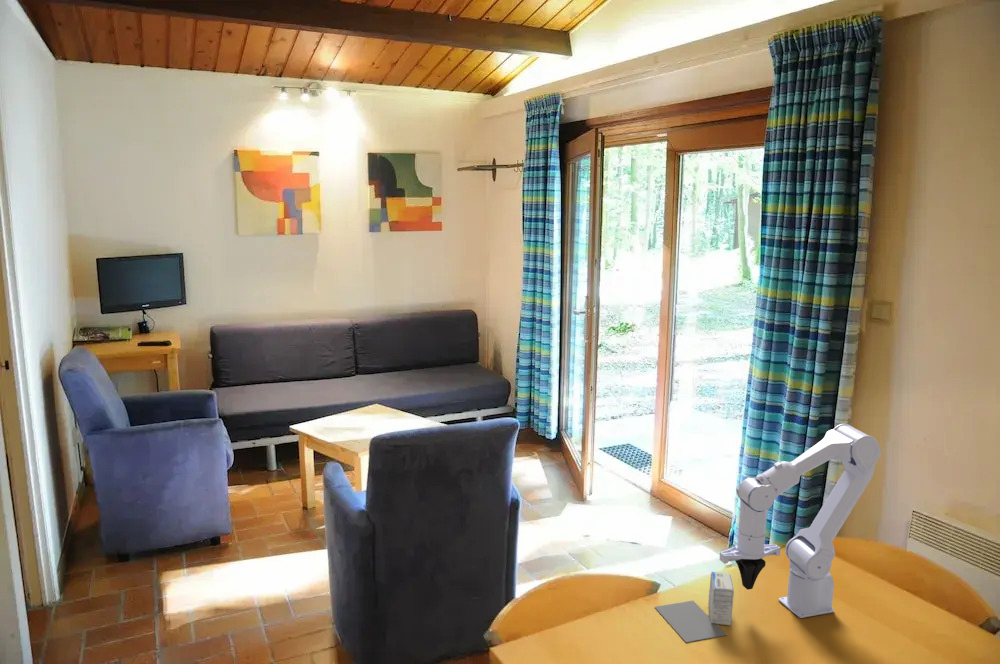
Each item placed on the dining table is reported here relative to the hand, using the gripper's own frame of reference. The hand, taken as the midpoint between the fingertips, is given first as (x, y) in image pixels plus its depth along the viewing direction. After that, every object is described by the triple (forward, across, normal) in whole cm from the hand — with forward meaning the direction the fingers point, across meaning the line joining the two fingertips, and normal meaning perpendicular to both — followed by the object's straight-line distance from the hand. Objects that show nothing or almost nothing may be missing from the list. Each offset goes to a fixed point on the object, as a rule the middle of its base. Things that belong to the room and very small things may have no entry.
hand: (747, 587), depth 168 cm
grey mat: (+6, +14, 0) cm, 16 cm away
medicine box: (+6, +7, 0) cm, 9 cm away
